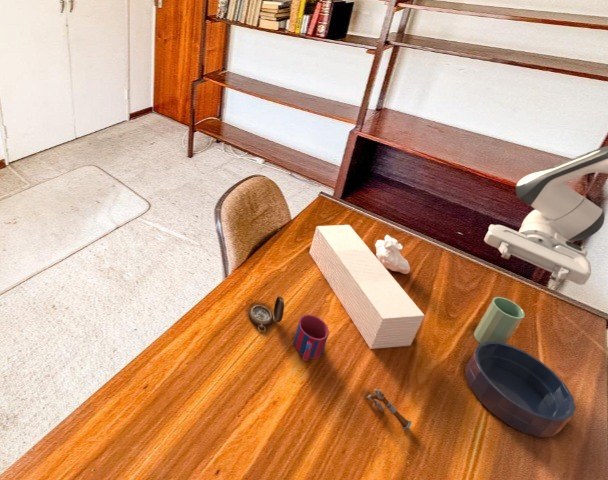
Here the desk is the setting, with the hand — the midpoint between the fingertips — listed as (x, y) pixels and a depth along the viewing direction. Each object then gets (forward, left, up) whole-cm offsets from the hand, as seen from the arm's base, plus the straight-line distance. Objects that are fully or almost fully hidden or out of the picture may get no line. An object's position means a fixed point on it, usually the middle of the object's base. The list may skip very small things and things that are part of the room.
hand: (529, 266), depth 99 cm
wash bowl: (+15, +21, -17) cm, 31 cm away
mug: (+57, +11, -18) cm, 61 cm away
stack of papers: (+37, -6, -18) cm, 42 cm away
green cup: (+10, +8, -17) cm, 21 cm away
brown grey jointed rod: (+45, +25, -18) cm, 55 cm away
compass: (+65, +3, -18) cm, 68 cm away
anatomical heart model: (+21, -17, -18) cm, 33 cm away
